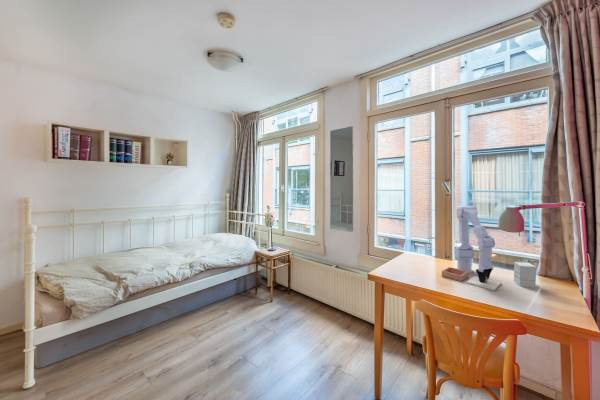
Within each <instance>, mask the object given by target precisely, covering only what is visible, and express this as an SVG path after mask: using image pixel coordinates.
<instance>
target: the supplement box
mask: <svg viewBox="0 0 600 400" xmlns="http://www.w3.org/2000/svg"><path fill="white" fill-rule="evenodd" d="M513 266H514V267H513V269H514V270H513V282H514V283H515V284H516V285H518V286H519V287H525V288H533V289H534V288H536V282H537V266H535V265H534V264H532V263H530V262H523V261H522V262H521V261H514V265H513Z"/></svg>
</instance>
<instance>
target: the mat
mask: <svg viewBox="0 0 600 400" xmlns="http://www.w3.org/2000/svg"><path fill="white" fill-rule="evenodd" d="M466 284H467V285H471V286H474V287H476V286H475V285H472V284H468V283H467V282H466ZM502 285H503V283H501V285H500V286H499V287H498V288H497V289H496V290H495V291H493V290H490V289H486V288H483V287H479V286H477V287H478V288H481V289H485V290H489V291H491V292H496V291H498V289H499V288H500V287H502Z"/></svg>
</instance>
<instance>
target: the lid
mask: <svg viewBox="0 0 600 400" xmlns="http://www.w3.org/2000/svg"><path fill="white" fill-rule="evenodd" d="M467 283H468V284H467ZM466 284H467V285H470V284H472V285H471V286H474V285H475V286H474V287H478V286H479V287H478V288H481V287H483V288H482V289H485V288H486V289H485V290H488V289H490V290H489V291H492V290H493V291H492V292H496V291H497V290H498V289H499V288H500V287H501V286H502V285H501V284H502V282H501V281H497V280H493V279H490V278H489V279H487V277H486V279H485V282H484V283H481V282H480V281H479V277H478V275H474V276H472V277H471V278H469V280H467V281H466ZM500 285H501V286H500ZM499 286H500V287H499ZM498 287H499V288H498ZM497 288H498V289H497ZM496 289H497V290H496ZM495 290H496V291H495Z"/></svg>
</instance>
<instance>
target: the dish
mask: <svg viewBox="0 0 600 400" xmlns="http://www.w3.org/2000/svg"><path fill="white" fill-rule="evenodd" d="M441 277H443V278H447V279H450V280H454V281H458V282H463V281H464V280H466V279H467V278H468V277H469V274H468V271H464V270H460V269H457V267H456V268H455V267H453V266H452V267H450V266H448V267H446V268H444V269H443V270H442V271H441Z"/></svg>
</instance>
